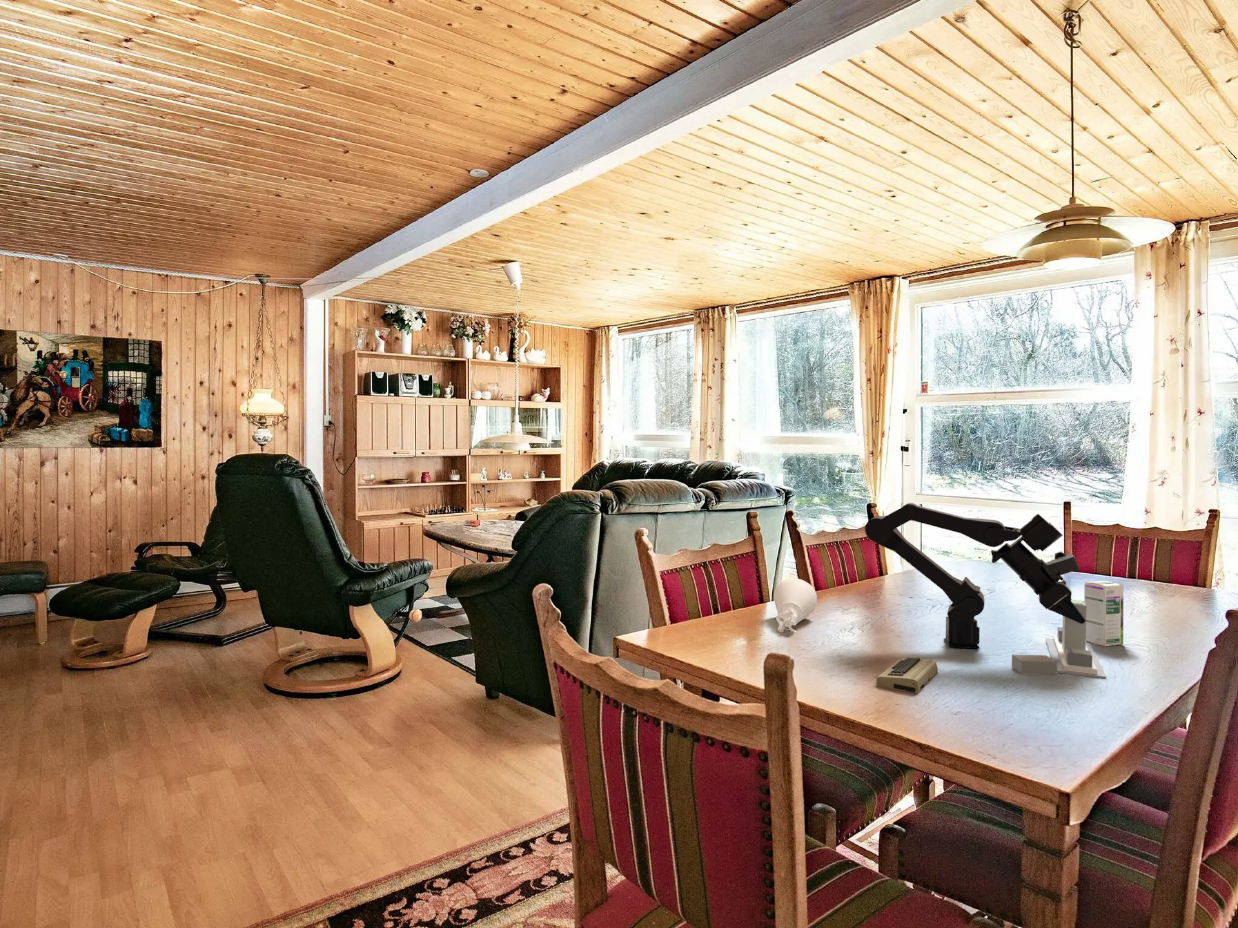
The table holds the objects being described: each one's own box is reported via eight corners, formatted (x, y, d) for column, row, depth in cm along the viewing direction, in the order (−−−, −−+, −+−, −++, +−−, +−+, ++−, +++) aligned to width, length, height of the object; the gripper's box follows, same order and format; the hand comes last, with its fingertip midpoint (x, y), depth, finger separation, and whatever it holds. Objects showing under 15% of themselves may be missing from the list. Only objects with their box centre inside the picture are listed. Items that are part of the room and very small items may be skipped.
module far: (1058, 641, 173) (1059, 629, 173) (1057, 637, 177) (1057, 626, 176) (1080, 643, 171) (1081, 632, 171) (1079, 639, 175) (1079, 628, 175)
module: (1064, 653, 163) (1065, 602, 163) (1062, 647, 168) (1063, 598, 168) (1085, 655, 162) (1086, 604, 161) (1082, 649, 166) (1083, 600, 166)
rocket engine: (787, 597, 183) (797, 570, 199) (753, 622, 188) (765, 593, 204) (819, 632, 182) (826, 602, 199) (784, 656, 187) (793, 625, 204)
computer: (897, 667, 159) (898, 652, 159) (937, 674, 154) (938, 659, 154) (875, 687, 146) (875, 671, 146) (918, 696, 141) (918, 678, 141)
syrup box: (1104, 646, 174) (1106, 585, 173) (1082, 640, 179) (1084, 580, 179) (1123, 645, 175) (1125, 584, 175) (1101, 638, 181) (1102, 579, 180)
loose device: (1021, 675, 154) (1021, 660, 153) (1011, 668, 158) (1011, 654, 158) (1056, 675, 153) (1056, 661, 153) (1045, 669, 157) (1046, 655, 157)
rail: (1055, 672, 154) (1055, 665, 154) (1045, 640, 179) (1046, 634, 179) (1106, 678, 150) (1106, 671, 150) (1089, 644, 175) (1089, 638, 175)
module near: (1067, 664, 155) (1067, 651, 155) (1065, 659, 159) (1065, 647, 159) (1092, 667, 153) (1092, 654, 153) (1089, 662, 157) (1090, 649, 157)
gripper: (1059, 546, 157) (1119, 603, 153) (1051, 536, 174) (1106, 587, 170) (1016, 580, 161) (1074, 636, 157) (1013, 567, 178) (1065, 617, 173)
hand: (1081, 617), depth 164 cm, fingers open, 9 cm apart
